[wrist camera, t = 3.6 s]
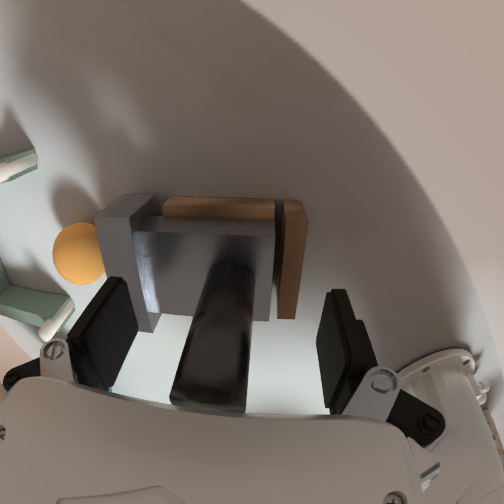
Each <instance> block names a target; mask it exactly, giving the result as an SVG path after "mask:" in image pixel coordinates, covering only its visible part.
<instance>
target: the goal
mask: <svg viewBox="0 0 504 504" xmlns="http://www.w3.org/2000/svg"><path fill="white" fill-rule="evenodd" d="M37 163H38V157H37V154H36V153H35V149H31V150H27V151H23V152H19V153H16V154H12V155H8V156H5V157H2V158H0V183H4V182H9V181H12V180H14V179H16V178H18V177H20V176H22V175H24V174H26V173H29V172H31V171H33V170H35V169H37ZM74 306H75V305H74V302H73V301H72V300H71V298H70V296H65V295H59V294H53V293H48V292H42V291H37V290H32V289H27V288H22V287H17V286H12V285H10V283H9V280H8V278H7V275H6V273H5V270H4V267H3V265H2V262H1V259H0V315H3V316H6V317H9V318H12V319H15V320H18V321H21V322H25V323H28V324H31V325H34V326H38V327H41V328H40V330H39V331H38V335H39V337H40V338H41V339H42V340H43V341H45V342H47V341H49V340H51V338H52V337H53V336H54V334H55V333H56V332H60V330H61V329H62V327H63V326H64V325H65V323H66V322H67V320H68V319H69V318H70V316H71V315H72V314H73V312H74V311H75V308H74Z"/></svg>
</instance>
